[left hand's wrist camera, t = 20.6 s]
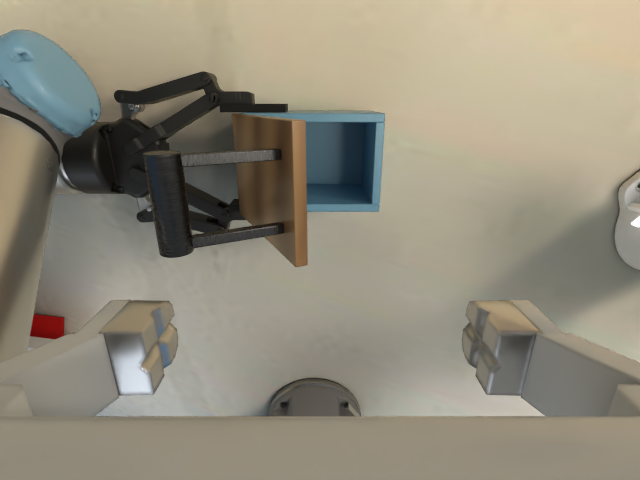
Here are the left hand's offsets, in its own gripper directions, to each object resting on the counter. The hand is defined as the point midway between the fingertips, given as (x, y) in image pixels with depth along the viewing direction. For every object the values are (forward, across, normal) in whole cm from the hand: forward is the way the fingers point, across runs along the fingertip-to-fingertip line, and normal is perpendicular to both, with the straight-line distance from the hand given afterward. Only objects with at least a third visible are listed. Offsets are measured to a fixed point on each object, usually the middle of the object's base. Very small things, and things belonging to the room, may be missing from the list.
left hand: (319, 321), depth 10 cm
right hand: (+31, -3, 0) cm, 31 cm away
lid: (+20, -4, 0) cm, 21 cm away
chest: (+38, -1, 0) cm, 38 cm away
